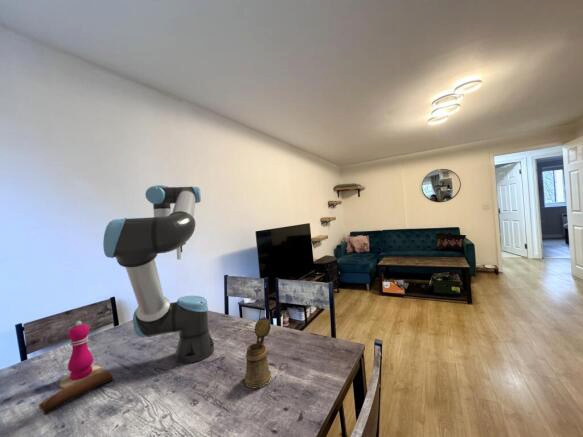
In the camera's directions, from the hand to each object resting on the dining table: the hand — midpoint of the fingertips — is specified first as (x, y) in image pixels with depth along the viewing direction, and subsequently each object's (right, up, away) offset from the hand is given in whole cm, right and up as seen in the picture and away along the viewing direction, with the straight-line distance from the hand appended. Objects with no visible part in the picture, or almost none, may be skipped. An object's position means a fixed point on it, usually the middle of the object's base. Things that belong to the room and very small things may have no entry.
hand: (165, 261), depth 122 cm
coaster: (-16, -38, -29) cm, 50 cm away
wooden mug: (+51, -34, -34) cm, 70 cm away
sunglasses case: (-10, -38, -38) cm, 55 cm away
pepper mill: (-16, -37, -29) cm, 50 cm away
